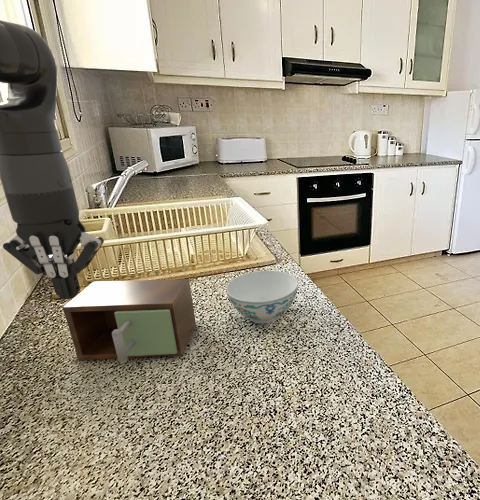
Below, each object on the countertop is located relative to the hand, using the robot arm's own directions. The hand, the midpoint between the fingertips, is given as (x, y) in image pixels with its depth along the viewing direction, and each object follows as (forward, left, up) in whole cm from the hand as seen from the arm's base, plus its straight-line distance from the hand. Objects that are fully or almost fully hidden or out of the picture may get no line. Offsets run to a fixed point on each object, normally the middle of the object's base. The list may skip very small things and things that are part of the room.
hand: (69, 296), depth 58 cm
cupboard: (+4, +10, -16) cm, 19 cm away
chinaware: (+27, +18, -16) cm, 36 cm away
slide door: (+8, +2, -15) cm, 17 cm away
